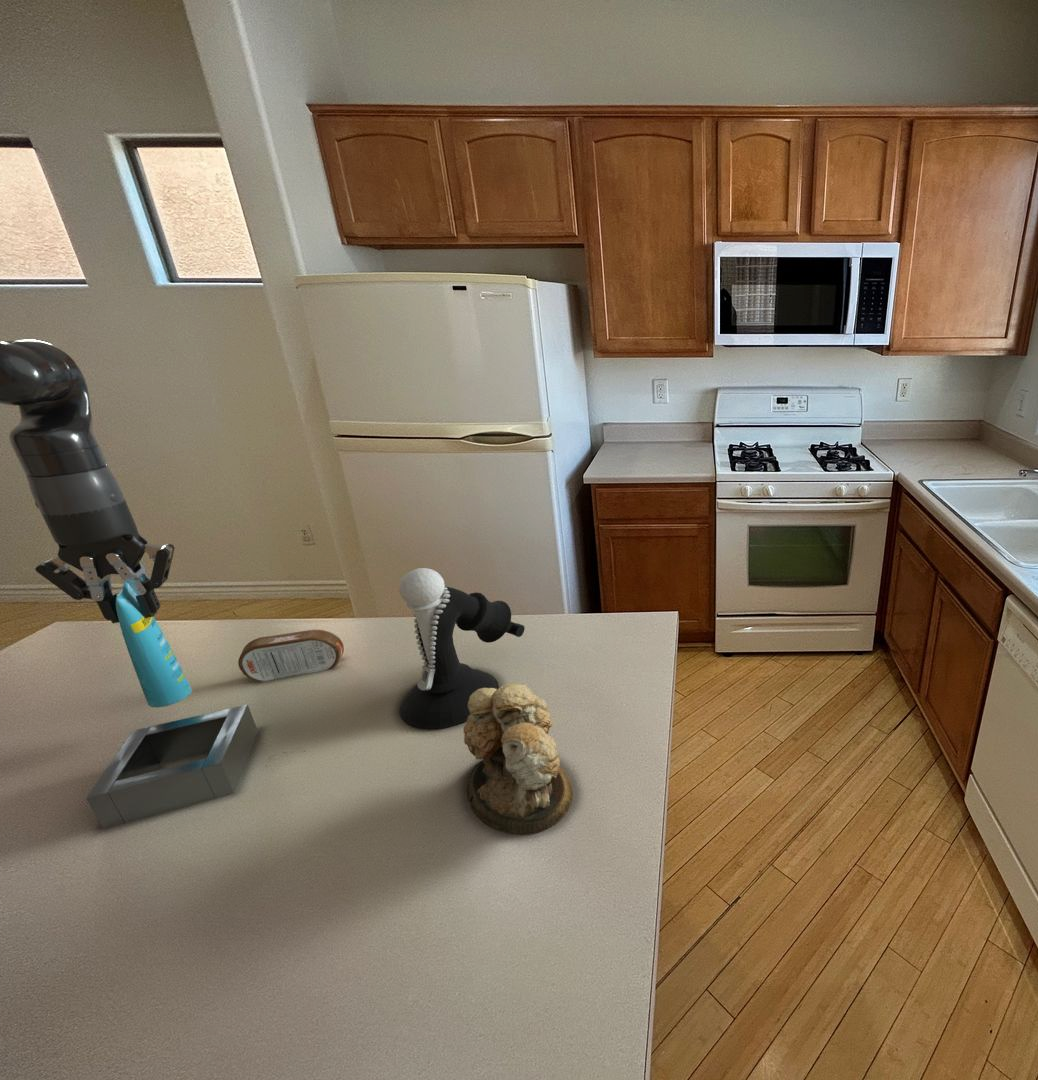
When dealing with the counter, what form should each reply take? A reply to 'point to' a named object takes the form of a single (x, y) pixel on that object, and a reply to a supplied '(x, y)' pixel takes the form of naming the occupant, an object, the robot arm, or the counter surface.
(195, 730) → the stand
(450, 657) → the sculpture
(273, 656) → the tin
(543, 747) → the owl figurine
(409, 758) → the counter surface
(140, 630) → the tube
